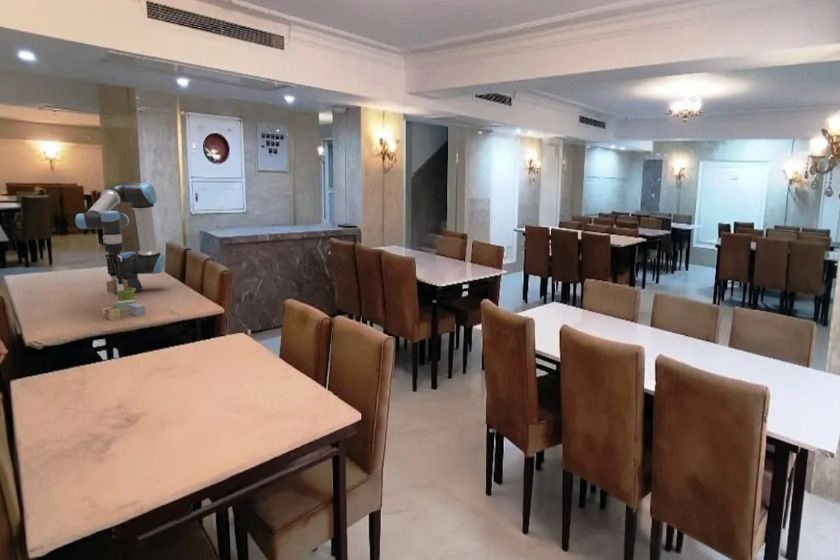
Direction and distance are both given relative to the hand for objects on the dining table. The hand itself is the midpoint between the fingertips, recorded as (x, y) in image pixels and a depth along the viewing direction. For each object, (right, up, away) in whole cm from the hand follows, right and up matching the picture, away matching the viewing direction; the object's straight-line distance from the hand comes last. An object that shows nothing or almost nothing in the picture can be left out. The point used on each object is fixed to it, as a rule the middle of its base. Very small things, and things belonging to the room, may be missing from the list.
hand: (118, 289), depth 250 cm
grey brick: (+6, -13, +7) cm, 15 cm away
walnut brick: (0, 0, 0) cm, 0 cm away
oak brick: (-2, -14, -1) cm, 14 cm away
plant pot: (-8, -9, +22) cm, 26 cm away
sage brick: (-3, -11, +13) cm, 17 cm away
